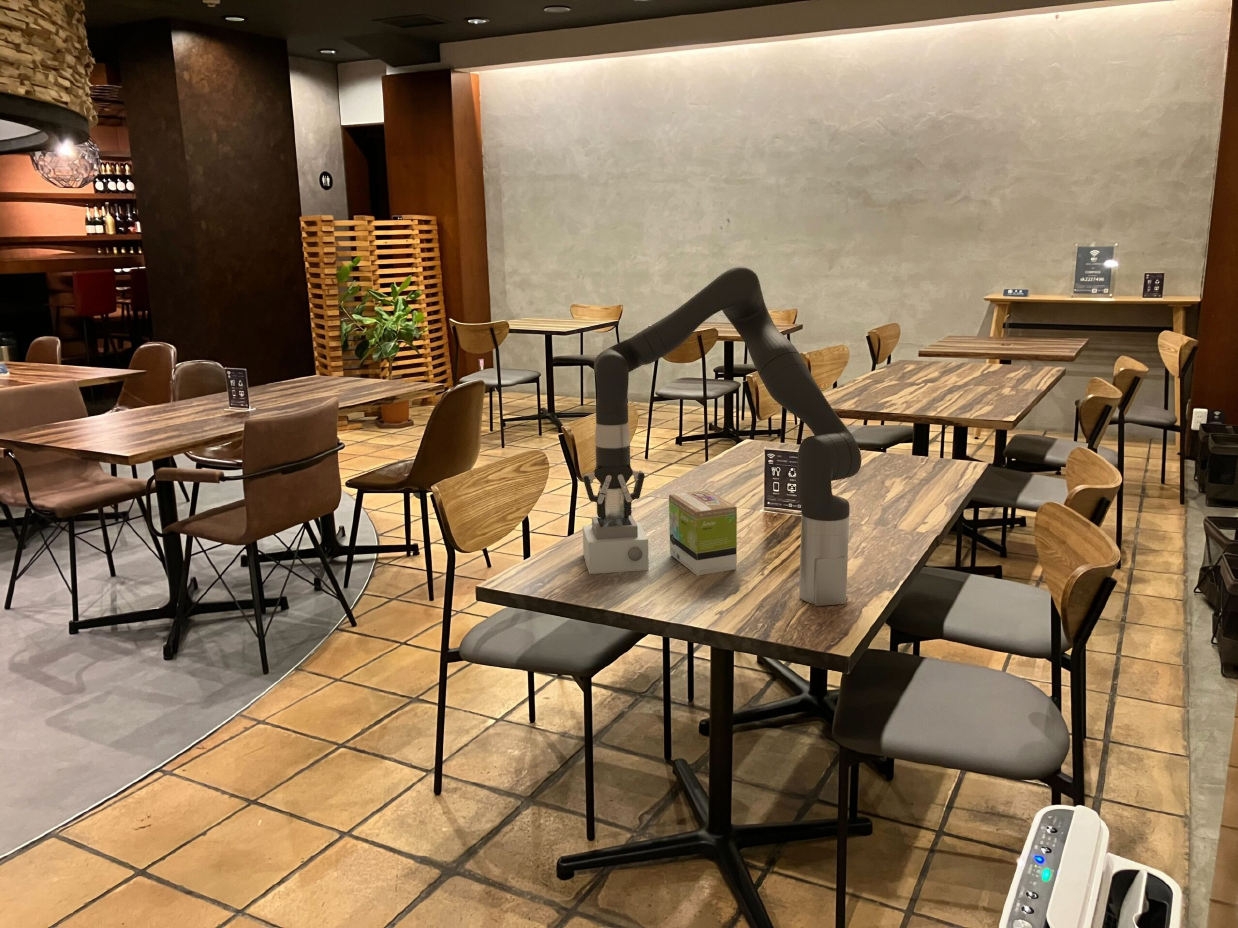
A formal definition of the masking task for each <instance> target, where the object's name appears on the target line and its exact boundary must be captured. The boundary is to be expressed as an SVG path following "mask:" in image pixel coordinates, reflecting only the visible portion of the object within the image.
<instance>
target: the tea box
mask: <svg viewBox="0 0 1238 928" xmlns="http://www.w3.org/2000/svg"><path fill="white" fill-rule="evenodd" d="M737 511H738V507H737V506H736V505H735V504H732V502H729V501H727V500H725V498H722V497H721V496H718V495H717V494H715V493H713V492H712V491H710V490H708V489H703V490H696V491H690V492H689V491H688V492H682V493H676V494H675V493H674V494H668V512H669V513H668V514H669V515H668V516H669V517H668V521H669V554H670V556H672V557H673V558H674V559H675V560H676V561H678V562H679V563H681V564H682V565H683V566H685V567H686V568H687V569H688V570H689V571H691V572H692V573H693V574H694V575H695V574H696V575H695V576H697V575H699V576H704V575H703V574H705V575H710V573H712V574H718V573H722V572H723V573H724V571H725V572H729V571H735V570H737V565H738V561H737V559H738V558H737V557H738V555H737V553H738V552H737V544H738V542H737V541H738V540H737V539H738V535H737V533H738V530H737V529H738V526H737V525H738V512H737Z"/></svg>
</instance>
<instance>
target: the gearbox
mask: <svg viewBox="0 0 1238 928" xmlns="http://www.w3.org/2000/svg"><path fill="white" fill-rule="evenodd" d="M582 550H583V551H582V553H583V558H584V561H585V564H586V568H587V570H588V573H589V575H593V574H607V573H608V574H609V573H622V572H624V573H625V572H641V571H649V569H650V566H649V564H650V563H649V559H650V558H649V538H648V536H647V535H646V533H645V530H644V529H643V527H642V525H641V523H640V521H639V522H638V521H637V522H636V521H635V518H634V517H633V515H632V514H631V516H629V518H626V526H609V527H603V520H601V519H600V517H598V516H592V517H591V524H588V525H587V524H584V525H582Z"/></svg>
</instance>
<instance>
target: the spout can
mask: <svg viewBox="0 0 1238 928" xmlns="http://www.w3.org/2000/svg"><path fill="white" fill-rule="evenodd" d="M603 503H604V520H603V527H609V526H626V519H625V495H624V493H623V490H622V488H608V489H607V493H606V495H605V497H604V500H603Z"/></svg>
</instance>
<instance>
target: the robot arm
mask: <svg viewBox="0 0 1238 928" xmlns="http://www.w3.org/2000/svg"><path fill="white" fill-rule="evenodd" d="M721 311H722V313H723V315H725V318H727V319H728V321H729V323H730V324H731V325H732V327H734V329H735V330H736V332H737V333H738V334H739V336H740V337H741V338H742V339H741V340H742V341H743V342H744V344H745V346H746V349H747V350H748V353H749V355H750V359H751V361H752V363H753V365H754V367H755V370H756V372H757V373H758V376H759V378H760V379H761V382H762V384H763V386H764V387H765V388H766V389H765V390H767V392H768V394H769V395H770V397H771V398H772V399H773V400H774V401H775V402H776V403H777V404H779V405H780V406H781V407H783V408H784V409H785V411H788V412H789V413H790V414H792V415H794V416H795V417H796V418H797V419H799V420H801V421H802V422H803V423H804V424H805V425H806V426H807V427H808V428H809V430H810V431H811V433H813V435H810V436H807V437H805V438H803V440H802V441H801V442H800V444H799V448H798V450H797V463H796V464H797V494H798V499H799V504H800V508H801V513H800V514H801V517H800V521H801V522H800V553H799V559H800V560H799V590H798V591H799V592H798V593H799V595H798V596H799V598H800V599H801V600H802V601H805V602H806V603H810V604H812V605H814V606H815V607H820V606H831V605H832V606H834V605H835V606H837V605H845V604H846V601H847V593H848V592H847V587H848V562H849V561H848V559H849V557H848V556H849V531H850V510H851V509H850V507H851V506H850V503H849V502H850V501H848V500H847V499H846V498H844V497H843V496H839V495H835V494H833V489H832V482H833V481H838V480H844V479H849V478H851V477H854V476H855V475H857V474H858V473H859V471H860V470H861V466H862V452H861V450H860V447H859V445H858V442H857V440H856V439H855V437H854V436H853V434H852V432H851V431H850V430H849V429H848V427H847V426H846V424H845V423H844V422H843V421H842V419H841V418H840V416H839V415H838V414H837V413H836V411H835V410H834V409H833V407H832V405H831V404H830V403H829V401H828V399H827V398H826V396H825V395H824V393H823V392H822V390H821V389H820V387H819V386H818V383H817V382H816V381H815V378H814V377H813V375H812V373H811V371H810V369H809V367H808V366H807V364H806V363H805V360H804V359H803V357H802V356H801V354H800V352H799V350H798V349H797V348H796V346H795V345H794V344H793V343H792V342H791V341H790V340H789V339H788V338H787V337H786V336H785V335H784V334H782V332H780V330H779V329H778V328H777V326H776V324H775V322H774V321H773V318H772V317H771V315H770V312H769V310H768V308H767V306H766V303H765V298H764V295H763V291H762V287H761V283H760V278H759V276H758V275H757V273H756V271H754V270H753V269H752V268H750V267H748V266H734V267H731V268H729V269H727V270H726V271H724V272H723V273H721V274H720V275H719V276H717V277H716V278H715V279H714V280H713V281H711V282H710V283H709V284H708V285H706V286H705V287H704V288H702V289H701V290H700V291H699V292H697V293H696V294H694V296H692V297H691V298H690V299H688V300H687V301H686V302H685V303H683V304H681V305H680V306H679V307H678V308H676V309H675V310H674V311H672V312H671V313H669V314H668V315H666V316H665V317H662V318H661V319H660V320H658V321H656V322H653V324H650V325H649V326H647V327H645V328H644V329H642V330H641V331H639V332H637V333H636V334H634V335H633V336H631V337H630V338H627V339H624V340H623V341H620V342H618V343H616V344H614V345H611V346H610V347H608V348H606V349H604V350H603V351H601V352H600V353H599V354H597V356H596V357H595V359H594V362H593V371H594V373H595V381H596V383H595V384H596V395H597V396H596V397H597V398H596V402H595V431H594V436H595V437H594V443H595V469H593V472H590V473H586V472H585V473H583V474H582V477H581V478H582V481H583V484H584V487H585V489H586V490H585V491H586V494H587V498H588V500H589V501H590V502H592V503H593V502H594V503H596V515H597V517H600V519H601V520H604V503H603V500H604V497H605V495H606V493H607V489H608V488H622V490H623V493H624V495H625V519H626V518H629V516H631V515H632V502H633V501H634V500H639V499H640V497H641V493H642V489H643V485H644V481H645V477H646V475H645V474H644V472H643V471H642V470H633V468H632V465H631V433H630V425H629V402H628V395H629V380H630V379H629V375H630V374H629V373H630V372H633V371H634V370H636V369H638V368H639V367H642V366H646V365H649V364H652V363H654V362H656V361H658V360H660V359H661V358H663V357H665V356H667V355H668V354H670V353H672V352H673V351H675V350H676V349H678V348H679V347H680V346H682V344H683V343H684V342H686V341H687V340H688V339H689V338H690V336H691V335H692V334H694V332H695V331H696V330H697V329H698V328H699V327H700V326H701V325H702V324H703V323H704V322H705V321H706V320H708V319H710V318H711V317H712V316H713V315H715V314H717V313H719V312H721ZM632 476H633V480H634V481H635V482H634V487H633V490H632V492H630V491H629V488H628V485H627V483H628V482H629V480H630V479H631V477H632ZM595 478H596V480H597V481H598V482H599V484H600V485H599V488H598V491H597V495H596V494H595V493H594V492H593V487H592V485H591V484H593V483H594V479H595Z"/></svg>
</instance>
